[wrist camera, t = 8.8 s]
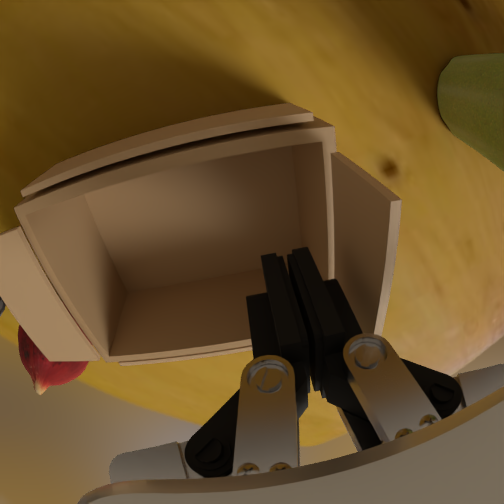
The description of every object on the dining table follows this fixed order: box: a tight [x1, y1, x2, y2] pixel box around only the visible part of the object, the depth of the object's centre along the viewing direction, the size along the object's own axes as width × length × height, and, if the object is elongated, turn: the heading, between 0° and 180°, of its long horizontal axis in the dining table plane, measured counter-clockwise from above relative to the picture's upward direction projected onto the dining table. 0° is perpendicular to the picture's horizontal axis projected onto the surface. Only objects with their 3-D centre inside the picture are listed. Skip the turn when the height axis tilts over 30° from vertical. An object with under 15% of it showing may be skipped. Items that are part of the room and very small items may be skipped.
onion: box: [18, 302, 92, 395], centre depth 17 cm, size 6×6×8 cm
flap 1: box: [0, 226, 100, 361], centre depth 12 cm, size 4×8×1 cm, turn 8°
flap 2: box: [330, 152, 402, 336], centre depth 10 cm, size 4×8×1 cm
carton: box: [14, 103, 336, 366], centre depth 15 cm, size 13×11×6 cm
